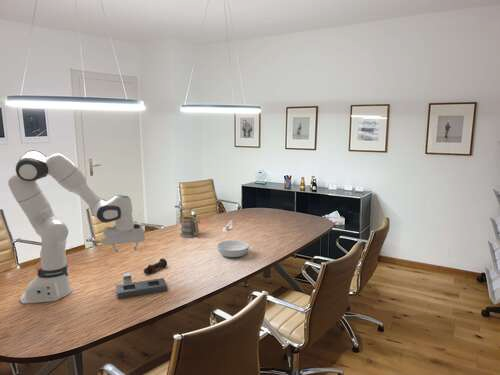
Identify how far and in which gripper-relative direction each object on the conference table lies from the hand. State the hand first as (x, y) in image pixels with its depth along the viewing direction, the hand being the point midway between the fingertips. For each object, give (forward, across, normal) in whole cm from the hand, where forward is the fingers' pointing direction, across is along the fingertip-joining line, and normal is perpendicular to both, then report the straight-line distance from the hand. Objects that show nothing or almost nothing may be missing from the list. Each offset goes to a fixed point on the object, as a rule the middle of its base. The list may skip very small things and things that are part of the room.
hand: (125, 250), depth 195 cm
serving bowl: (+19, +68, +20) cm, 73 cm away
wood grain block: (+18, 0, 0) cm, 18 cm away
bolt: (+19, +16, +13) cm, 28 cm away
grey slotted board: (+18, +6, -13) cm, 23 cm away
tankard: (+19, +52, +71) cm, 90 cm away
